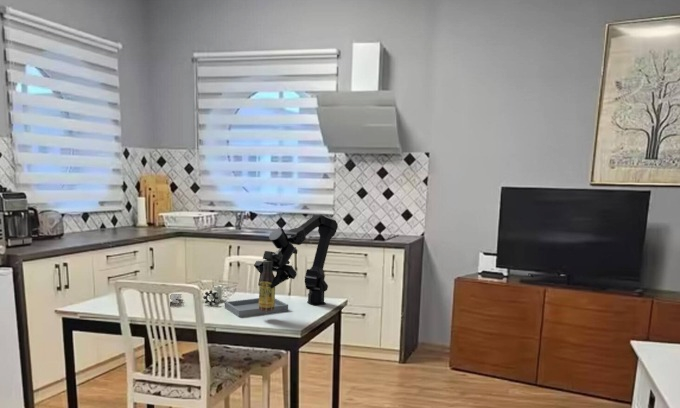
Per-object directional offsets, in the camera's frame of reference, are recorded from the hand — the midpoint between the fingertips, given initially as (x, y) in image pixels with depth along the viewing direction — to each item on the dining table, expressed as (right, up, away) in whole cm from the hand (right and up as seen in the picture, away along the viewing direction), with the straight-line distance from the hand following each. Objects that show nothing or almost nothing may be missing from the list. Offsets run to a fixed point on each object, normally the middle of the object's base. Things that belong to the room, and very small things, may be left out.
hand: (264, 286), depth 198 cm
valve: (-27, -12, +28) cm, 40 cm away
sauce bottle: (+1, -10, +2) cm, 10 cm away
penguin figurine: (-45, -11, +27) cm, 53 cm away
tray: (-6, -12, +17) cm, 22 cm away
